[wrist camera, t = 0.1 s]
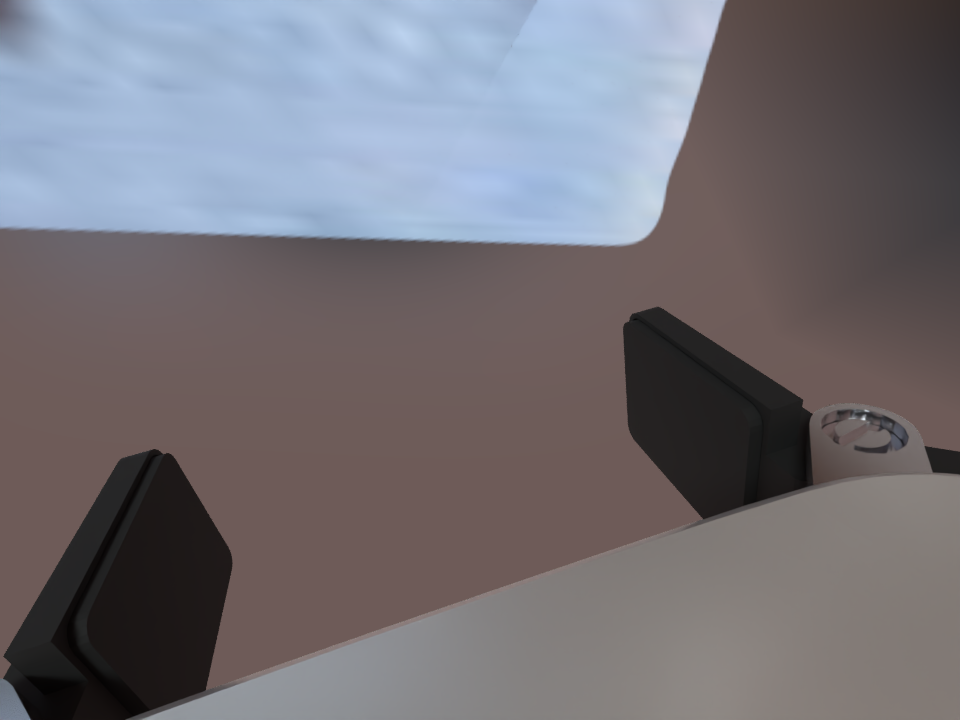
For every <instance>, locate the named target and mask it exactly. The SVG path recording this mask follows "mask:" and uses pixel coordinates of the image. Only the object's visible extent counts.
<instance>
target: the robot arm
mask: <svg viewBox="0 0 960 720" xmlns="http://www.w3.org/2000/svg"><path fill="white" fill-rule="evenodd" d="M623 335H624V355H625V374H626V393H627V413H628V427H629V430H630V433H631V435H632V437H633V439H634V440H635V441H636V442H637V443H638V445H639V446H640V447H641V448H642V449H643V450H644V452H645V453H646V454H647V455H648V456H649V457H650V459H651V460H652V461H653V462H654V463H655V464H656V465H657V467H658V468H659V469H660V470H661V471H662V472H663V473H664V475H665V476H666V477H667V478H668V479H669V480H670V482H671V483H672V484H673V485H674V486H675V487H676V488H677V490H678V491H679V492H680V493H681V494H682V495H683V496H684V498H685V499H686V500H687V501H688V502H689V503H690V504H691V506H692V507H693V508H694V509H695V510H696V511H697V512H698V513H699V515H700V516H701V517H702V518H703V520H700V521H697V522H694V523H690V524H688V525H684V526H681V527H678V528H675V529H672V530H669V531H667V532H664V533H661V534H658V535H655V536H652V537H649V538H646V539H643V540H640V541H637V542H634V543H631V544H628V545H625V546H622V547H619V548H616V549H613V550H610V551H608V552H605V553H602V554H598V555H596V556H593V557H590V558H587V559H584V560H581V561H578V562H575V563H572V564H569V565H566V566H563V567H560V568H557V569H554V570H551V571H548V572H545V573H543V574H540V575H537V576H534V577H531V578H528V579H525V580H522V581H519V582H516V583H514V584H510V585H508V586H505V587H502V588H499V589H496V590H493V591H490V592H487V593H485V594H482V595H478V596H476V597H473V598H470V599H467V600H464V601H461V602H458V603H455V604H452V605H449V606H446V607H444V608H441V609H438V610H435V611H432V612H429V613H426V614H423V615H420V616H418V617H415V618H412V619H409V620H406V621H404V622H400V623H397V624H395V625H392V626H389V627H386V628H383V629H380V630H377V631H374V632H371V633H368V634H366V635H363V636H360V637H357V638H354V639H351V640H349V641H346V642H343V643H340V644H337V645H334V646H331V647H329V648H326V649H323V650H320V651H317V652H314V653H311V654H309V655H306V656H303V657H300V658H297V659H295V660H291V661H289V662H286V663H283V664H280V665H277V666H274V667H272V668H269V669H266V670H263V671H260V672H257V673H254V674H252V675H249V676H246V677H243V678H240V679H237V680H235V681H232V682H229V683H226V684H223V685H220V686H217V687H215V688H212V689H209V690H206V686H207V681H208V677H209V672H210V667H211V663H212V657H213V653H214V649H215V644H216V640H217V635H218V631H219V626H220V621H221V616H222V612H223V607H224V603H225V598H226V594H227V589H228V584H229V580H230V575H231V571H232V556H231V552H230V550H229V548H228V546H227V544H226V543H225V541H224V540H223V538H222V536H221V534H220V533H219V531H218V529H217V528H216V526H215V525H214V523H213V521H212V519H211V518H210V517H209V514H208V513H207V511H206V510H205V508H204V506H203V504H202V503H201V501H200V499H199V498H198V496H197V494H196V493H195V491H194V489H193V488H192V486H191V484H190V483H189V481H188V479H187V478H186V476H185V475H184V473H183V471H182V470H181V468H180V466H179V464H178V463H177V461H176V459H175V458H174V457H173V456H172V455H171V454H169V453H166V454H162V453H161V452H160V451H159V450H156V449H153V450H150V451H146V452H142V453H139V454H135V455H132V456H128V457H125V458H122V459H121V460H120V461H119V462H118V463H117V465H116V467H115V468H114V470H113V472H112V474H111V475H110V477H109V478H108V480H107V482H106V484H105V485H104V487H103V489H102V490H101V492H100V494H99V495H98V497H97V499H96V501H95V502H94V504H93V506H92V507H91V509H90V511H89V512H88V514H87V516H86V518H85V519H84V521H83V523H82V524H81V526H80V528H79V529H78V531H77V533H76V534H75V536H74V538H73V539H72V541H71V543H70V544H69V546H68V548H67V550H66V551H65V553H64V555H63V557H62V558H61V560H60V561H59V563H58V565H57V566H56V568H55V570H54V572H53V573H52V575H51V577H50V578H49V580H48V582H47V584H46V585H45V587H44V588H43V590H42V592H41V594H40V595H39V597H38V599H37V600H36V602H35V604H34V605H33V607H32V609H31V611H30V612H29V614H28V615H27V617H26V619H25V621H24V622H23V624H22V626H21V628H20V629H19V631H18V633H17V634H16V636H15V638H14V639H13V641H12V643H11V644H10V646H9V648H8V649H7V651H6V653H5V654H4V658H6V659H7V660H8V661H9V662H10V663H11V666H10V667H9V669H8V671H7V673H6V675H5V676H4V678H3V679H0V720H960V452H958V451H951V450H945V449H938V448H932V447H926V446H924V444H923V441H922V437H921V435H920V434H919V432H918V431H917V429H916V427H915V426H913V425H912V424H911V423H909V422H908V421H907V420H906V419H904V418H902V417H900V416H898V415H896V414H894V413H892V412H890V411H887V410H883V409H881V408H878V407H874V406H868V405H862V404H844V403H843V404H835V405H829V406H826V407H824V408H821V409H819V410H817V411H816V412H815V413H814V414H812V413H810V412H809V411H807V410H805V409H804V408H803V407H802V404H803V399H801V398H800V397H798V396H796V395H795V394H793V393H792V392H790V391H789V390H787V389H786V388H784V387H782V386H781V385H779V384H778V383H776V382H775V381H773V380H772V379H770V378H769V377H767V376H766V375H764V374H762V373H761V372H759V371H758V370H756V369H755V368H753V367H752V366H750V365H749V364H747V363H745V362H744V361H742V360H741V359H739V358H738V357H736V356H735V355H733V354H731V353H730V352H728V351H727V350H725V349H724V348H722V347H721V346H719V345H717V344H716V343H715V342H713V341H712V340H710V339H708V338H707V337H705V336H704V335H702V334H701V333H699V332H697V331H696V330H694V329H693V328H691V327H690V326H688V325H687V324H685V323H684V322H682V321H681V320H679V319H677V318H676V317H674V316H673V315H671V314H670V313H668V312H667V311H665V310H664V309H662V308H660V307H655V308H652V309H648V310H645V311H641V312H637V313H634V314H632V315H631V317H630V320H629V322H627V323H625V324H624V327H623ZM205 690H206V691H205Z"/></svg>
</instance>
